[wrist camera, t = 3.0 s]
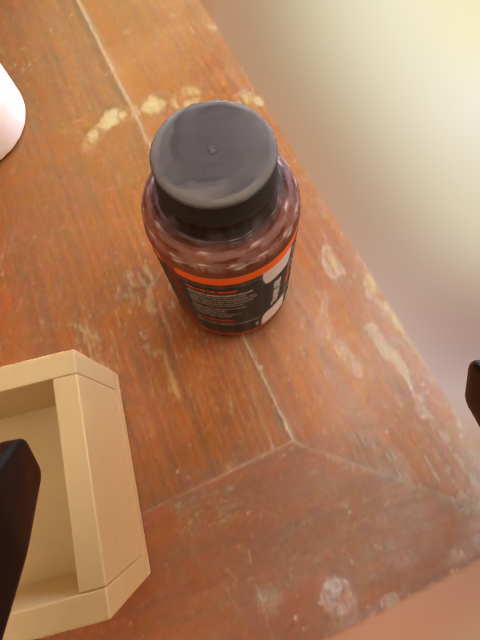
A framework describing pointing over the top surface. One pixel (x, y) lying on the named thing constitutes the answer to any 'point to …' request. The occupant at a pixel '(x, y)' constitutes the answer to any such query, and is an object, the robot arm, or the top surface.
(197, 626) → the top surface
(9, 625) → the shallow tan tray box
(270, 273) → the supplement bottle
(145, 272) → the top surface
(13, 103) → the mug
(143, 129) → the top surface
